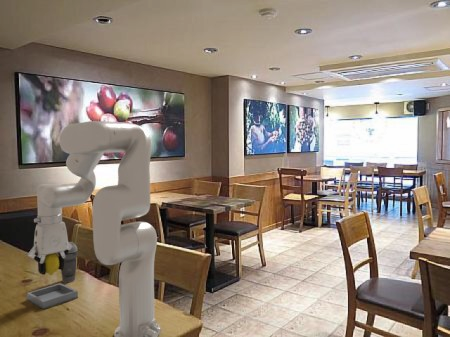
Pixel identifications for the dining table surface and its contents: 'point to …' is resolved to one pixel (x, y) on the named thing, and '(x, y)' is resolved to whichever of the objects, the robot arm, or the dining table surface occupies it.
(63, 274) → the beverage cup
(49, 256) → the lemon
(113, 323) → the dining table surface
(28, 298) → the tray
